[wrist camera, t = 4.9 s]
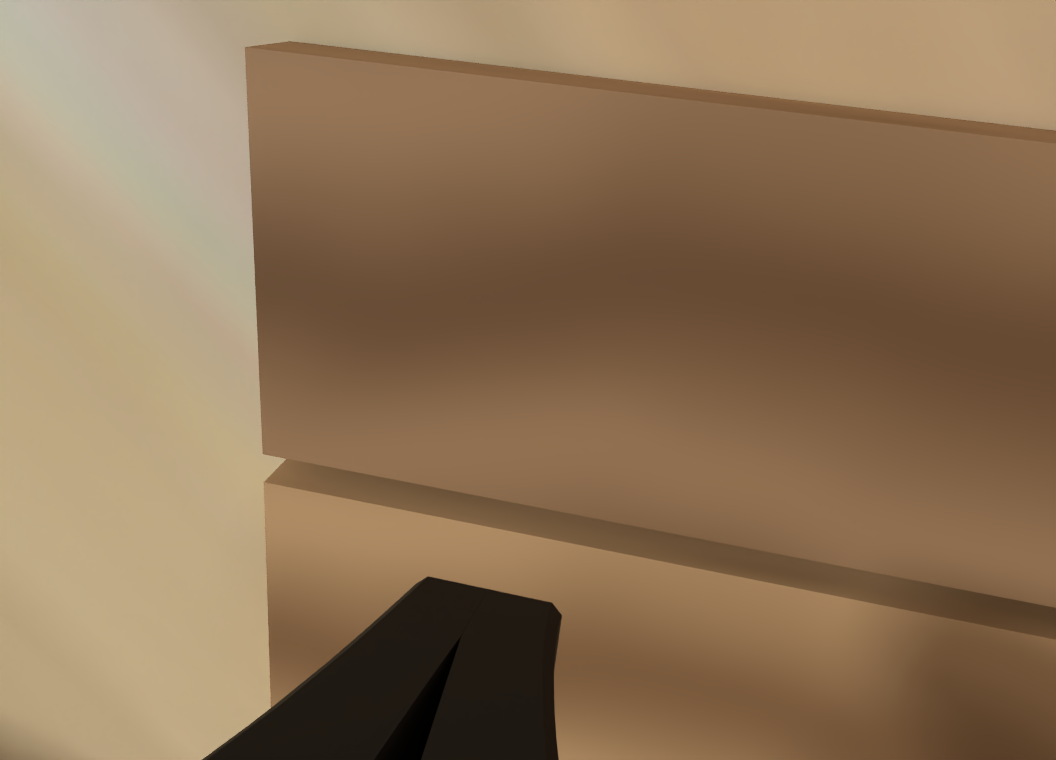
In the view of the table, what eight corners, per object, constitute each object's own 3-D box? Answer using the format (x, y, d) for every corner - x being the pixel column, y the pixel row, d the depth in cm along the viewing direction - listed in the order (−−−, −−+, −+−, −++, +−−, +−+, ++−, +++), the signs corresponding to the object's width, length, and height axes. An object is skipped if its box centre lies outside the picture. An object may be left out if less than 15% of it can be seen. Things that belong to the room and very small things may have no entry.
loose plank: (1586, 657, 14) (1674, 727, 13) (298, 417, 18) (262, 453, 16) (1915, 231, 11) (2076, 264, 10) (290, 41, 15) (245, 47, 13)
